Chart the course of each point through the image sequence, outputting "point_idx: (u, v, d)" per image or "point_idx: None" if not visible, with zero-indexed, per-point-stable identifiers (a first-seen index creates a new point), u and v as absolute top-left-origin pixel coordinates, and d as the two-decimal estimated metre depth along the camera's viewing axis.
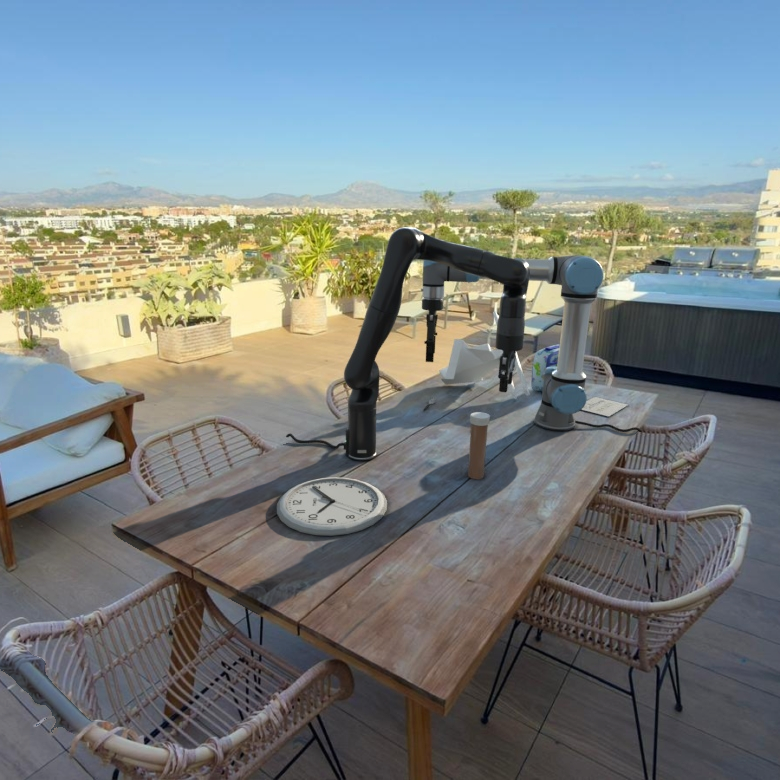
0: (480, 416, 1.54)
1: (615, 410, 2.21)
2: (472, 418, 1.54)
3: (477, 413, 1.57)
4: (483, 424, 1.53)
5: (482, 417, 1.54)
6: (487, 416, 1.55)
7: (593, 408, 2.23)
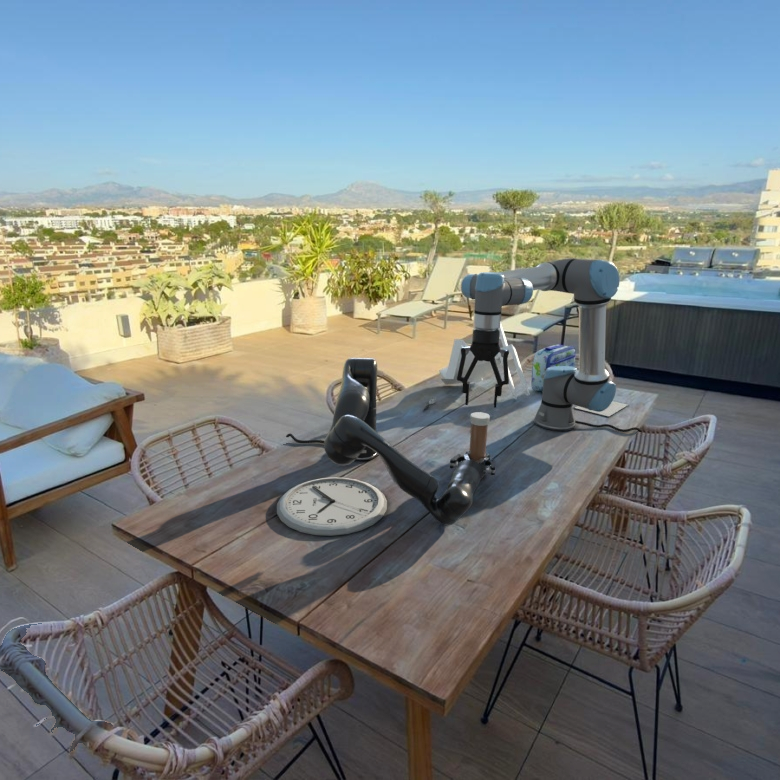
0: (480, 416, 1.54)
1: (615, 410, 2.21)
2: (472, 418, 1.54)
3: (477, 413, 1.57)
4: (483, 424, 1.53)
5: (482, 417, 1.54)
6: (487, 416, 1.55)
7: None
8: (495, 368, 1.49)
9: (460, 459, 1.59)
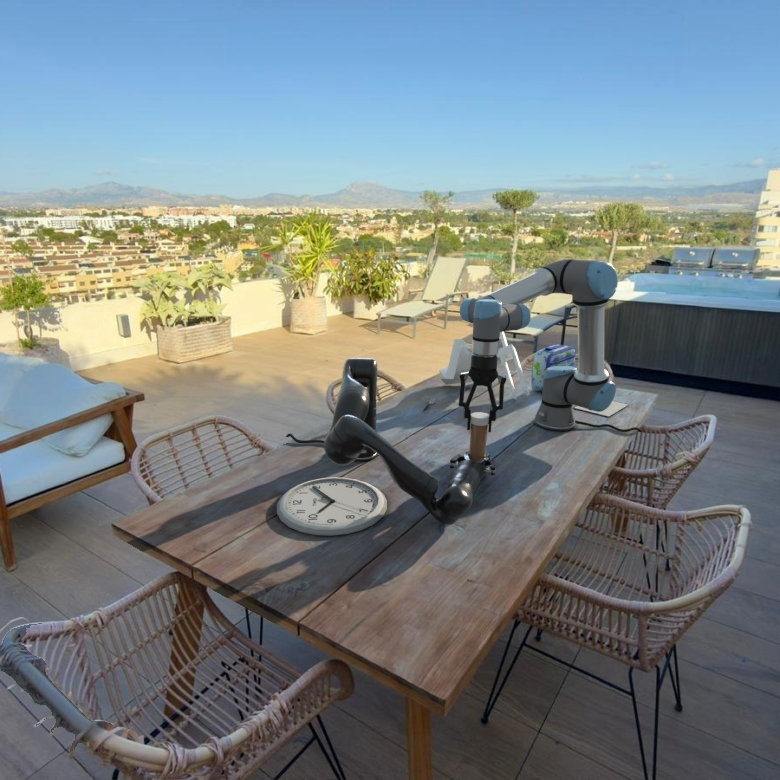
0: (480, 416, 1.54)
1: (615, 410, 2.21)
2: (472, 418, 1.54)
3: (477, 413, 1.57)
4: (483, 424, 1.53)
5: (482, 417, 1.54)
6: (487, 416, 1.55)
7: None
8: (491, 393, 1.52)
9: (460, 459, 1.59)
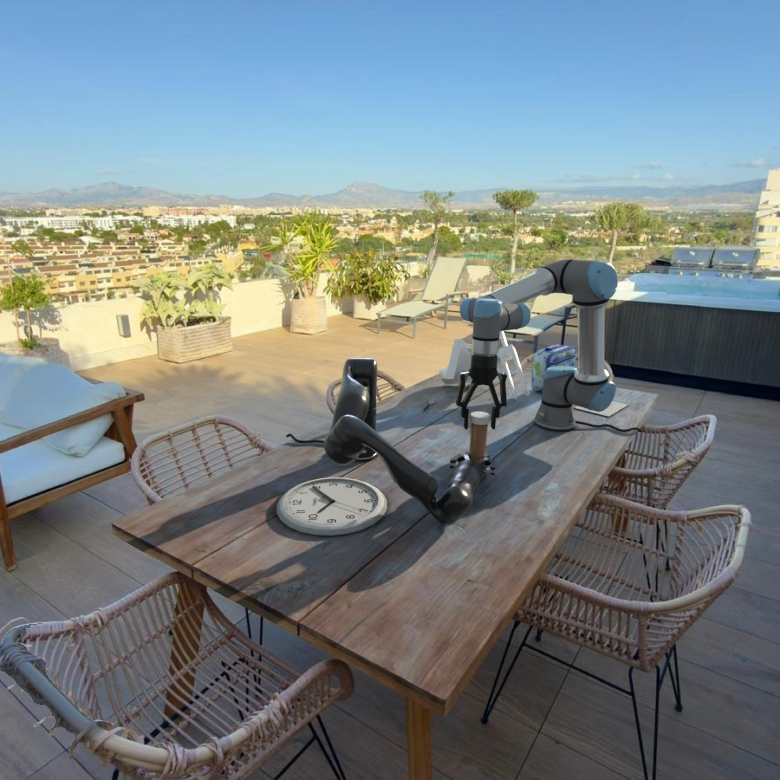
0: (483, 415, 1.55)
1: (615, 410, 2.21)
2: (483, 419, 1.53)
3: (474, 414, 1.55)
4: (489, 420, 1.56)
5: (486, 414, 1.55)
6: (484, 412, 1.57)
7: None
8: (494, 391, 1.52)
9: (460, 459, 1.59)
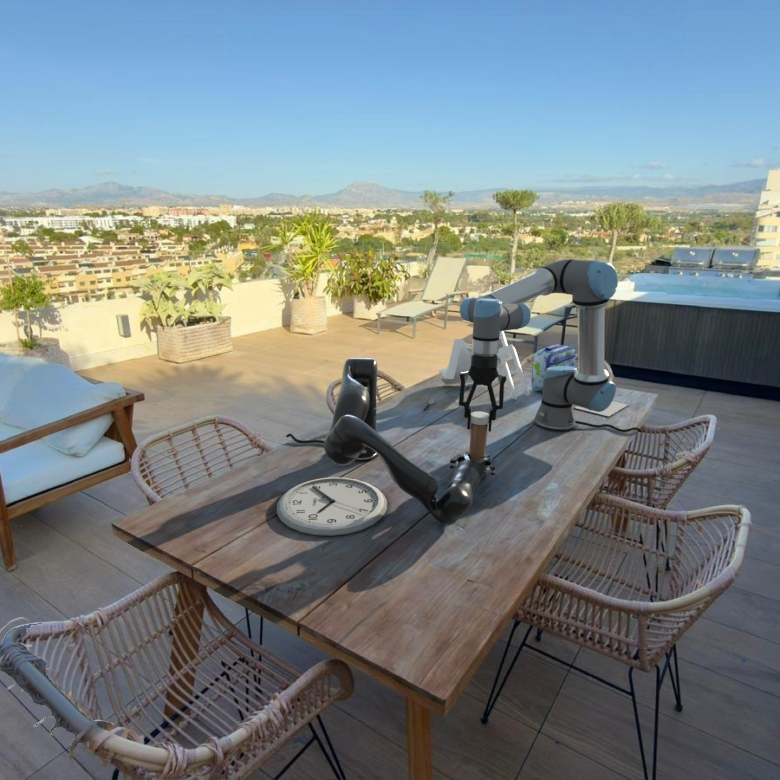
0: (483, 415, 1.55)
1: (615, 410, 2.21)
2: (483, 419, 1.53)
3: (474, 414, 1.55)
4: None
5: (486, 414, 1.55)
6: (484, 412, 1.57)
7: None
8: (491, 393, 1.51)
9: (460, 459, 1.59)
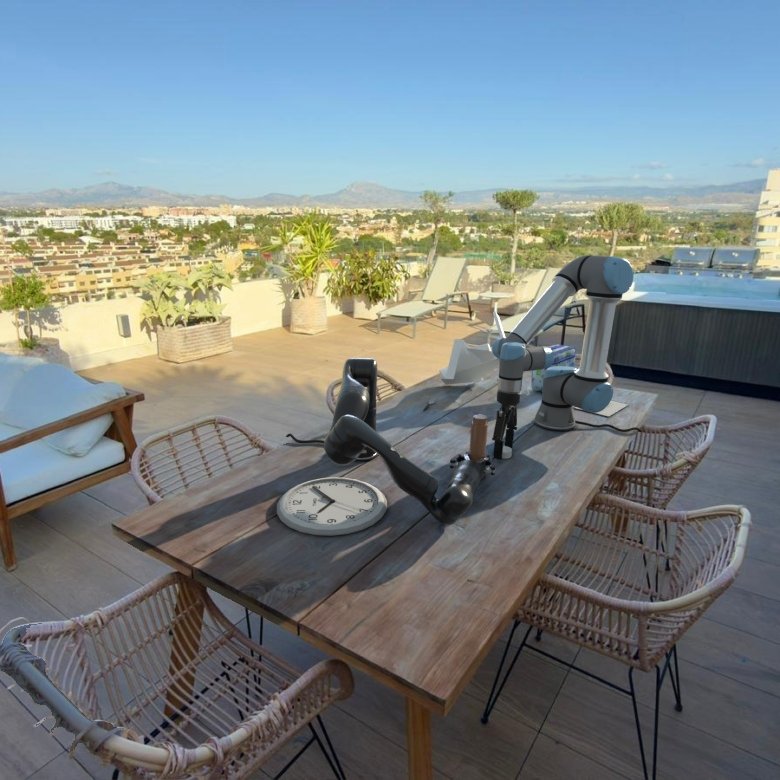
0: (504, 448, 1.76)
1: (615, 410, 2.21)
2: (511, 451, 1.76)
3: (503, 450, 1.74)
4: None
5: (504, 446, 1.77)
6: None
7: None
8: (513, 418, 1.76)
9: (460, 459, 1.59)
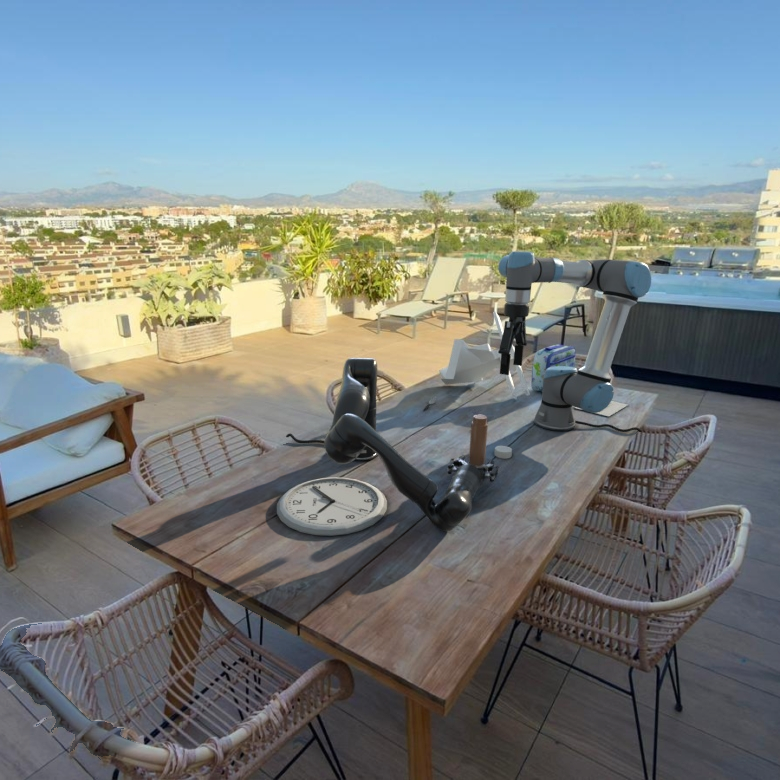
0: (504, 448, 1.76)
1: (615, 410, 2.21)
2: (511, 451, 1.76)
3: (503, 450, 1.74)
4: None
5: (504, 446, 1.77)
6: (499, 446, 1.78)
7: None
8: (522, 333, 1.68)
9: (454, 463, 1.57)
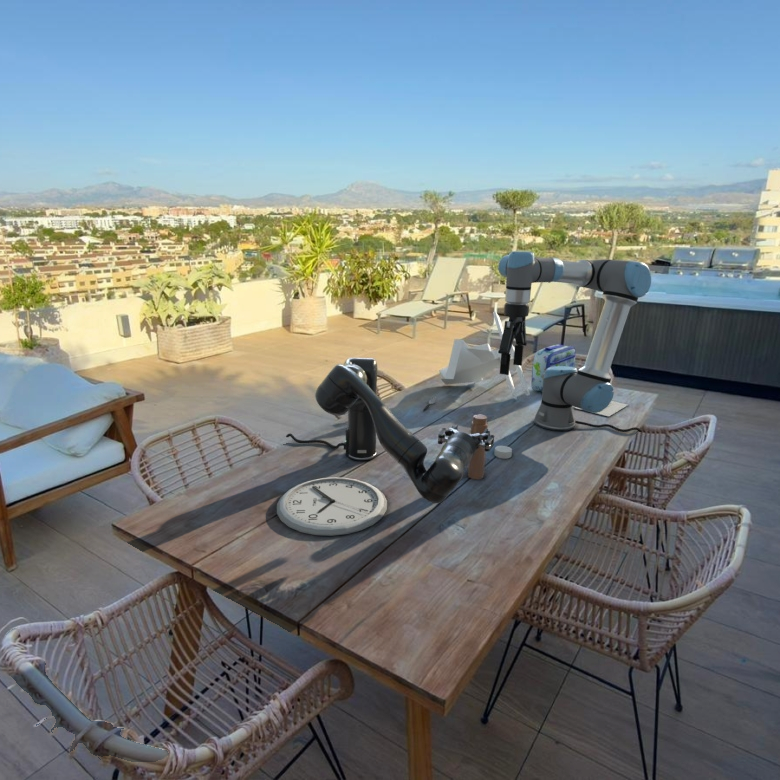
0: (504, 448, 1.76)
1: (615, 410, 2.21)
2: (511, 451, 1.76)
3: (503, 450, 1.74)
4: None
5: (504, 446, 1.77)
6: (499, 446, 1.78)
7: None
8: (522, 333, 1.68)
9: (445, 433, 1.42)
